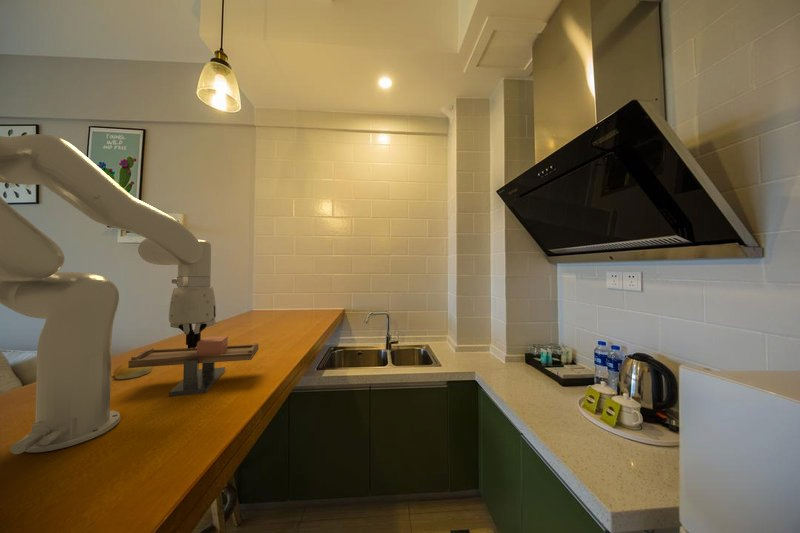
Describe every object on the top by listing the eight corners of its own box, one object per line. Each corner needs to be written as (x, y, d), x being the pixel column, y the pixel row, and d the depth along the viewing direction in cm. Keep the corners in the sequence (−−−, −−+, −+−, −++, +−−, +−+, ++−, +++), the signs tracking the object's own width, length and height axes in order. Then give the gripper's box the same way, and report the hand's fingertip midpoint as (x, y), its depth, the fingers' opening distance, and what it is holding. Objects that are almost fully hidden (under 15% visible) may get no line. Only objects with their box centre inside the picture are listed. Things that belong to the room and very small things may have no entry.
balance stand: (205, 392, 72) (206, 360, 72) (169, 396, 69) (169, 363, 69) (224, 371, 87) (225, 344, 87) (195, 373, 85) (196, 346, 85)
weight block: (221, 355, 77) (222, 341, 78) (196, 356, 76) (196, 342, 76) (227, 349, 83) (227, 336, 83) (204, 350, 81) (204, 337, 81)
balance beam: (250, 363, 77) (251, 351, 77) (127, 371, 69) (127, 359, 69) (258, 351, 88) (258, 341, 88) (151, 358, 79) (152, 347, 79)
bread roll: (116, 383, 77) (116, 368, 77) (112, 374, 83) (112, 361, 83) (154, 374, 84) (155, 361, 84) (148, 367, 90) (148, 355, 90)
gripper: (155, 283, 72) (153, 353, 72) (220, 283, 77) (219, 348, 77) (169, 282, 79) (168, 345, 79) (228, 282, 84) (227, 341, 84)
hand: (193, 346), depth 78 cm, fingers closed
